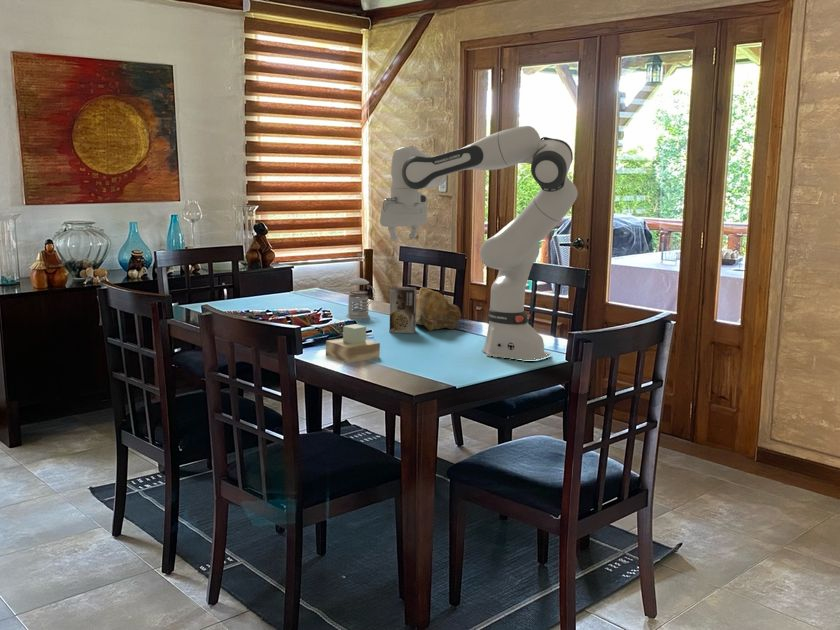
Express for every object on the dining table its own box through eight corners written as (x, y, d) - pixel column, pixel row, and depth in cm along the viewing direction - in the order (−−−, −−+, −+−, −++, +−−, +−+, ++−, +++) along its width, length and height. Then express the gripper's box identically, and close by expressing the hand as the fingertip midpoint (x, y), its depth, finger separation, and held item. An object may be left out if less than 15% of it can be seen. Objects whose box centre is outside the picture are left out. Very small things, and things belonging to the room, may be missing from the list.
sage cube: (365, 342, 258) (366, 326, 257) (354, 344, 254) (354, 328, 253) (354, 339, 261) (354, 324, 260) (343, 341, 258) (343, 326, 257)
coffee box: (415, 330, 302) (417, 287, 299) (413, 334, 296) (415, 289, 293) (391, 329, 303) (392, 285, 300) (388, 332, 296) (390, 288, 294)
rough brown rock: (464, 336, 299) (469, 295, 297) (419, 332, 296) (424, 291, 294) (452, 325, 322) (457, 288, 320) (410, 321, 319) (415, 283, 317)
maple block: (379, 358, 259) (379, 343, 258) (349, 363, 251) (349, 347, 250) (355, 351, 267) (356, 336, 266) (325, 356, 259) (326, 340, 258)
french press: (342, 314, 327) (343, 252, 323) (369, 313, 332) (371, 251, 327) (350, 319, 318) (352, 254, 314) (378, 317, 323) (380, 254, 319)
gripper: (391, 198, 258) (390, 242, 260) (430, 197, 274) (429, 238, 276) (375, 197, 261) (375, 240, 264) (415, 196, 277) (414, 237, 280)
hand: (403, 239), depth 270 cm, fingers open, 8 cm apart
